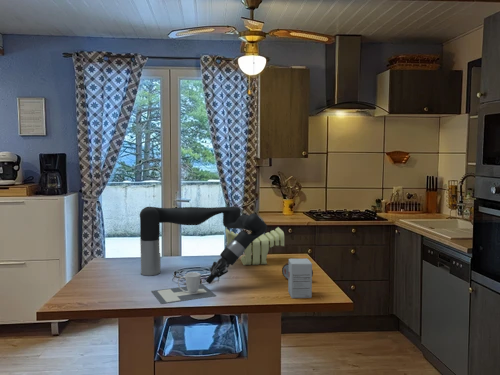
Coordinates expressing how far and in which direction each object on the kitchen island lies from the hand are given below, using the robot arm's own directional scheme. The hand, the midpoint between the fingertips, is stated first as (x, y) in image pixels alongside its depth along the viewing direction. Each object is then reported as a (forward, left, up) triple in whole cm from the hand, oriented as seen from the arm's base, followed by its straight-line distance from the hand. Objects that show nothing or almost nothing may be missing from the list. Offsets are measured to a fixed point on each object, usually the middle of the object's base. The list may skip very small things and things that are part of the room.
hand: (207, 282), depth 205 cm
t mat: (+8, -8, -4) cm, 12 cm away
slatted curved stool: (-53, +1, -4) cm, 53 cm away
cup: (+6, -6, -4) cm, 9 cm away
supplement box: (-10, +39, -4) cm, 41 cm away
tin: (-30, +32, -4) cm, 44 cm away
